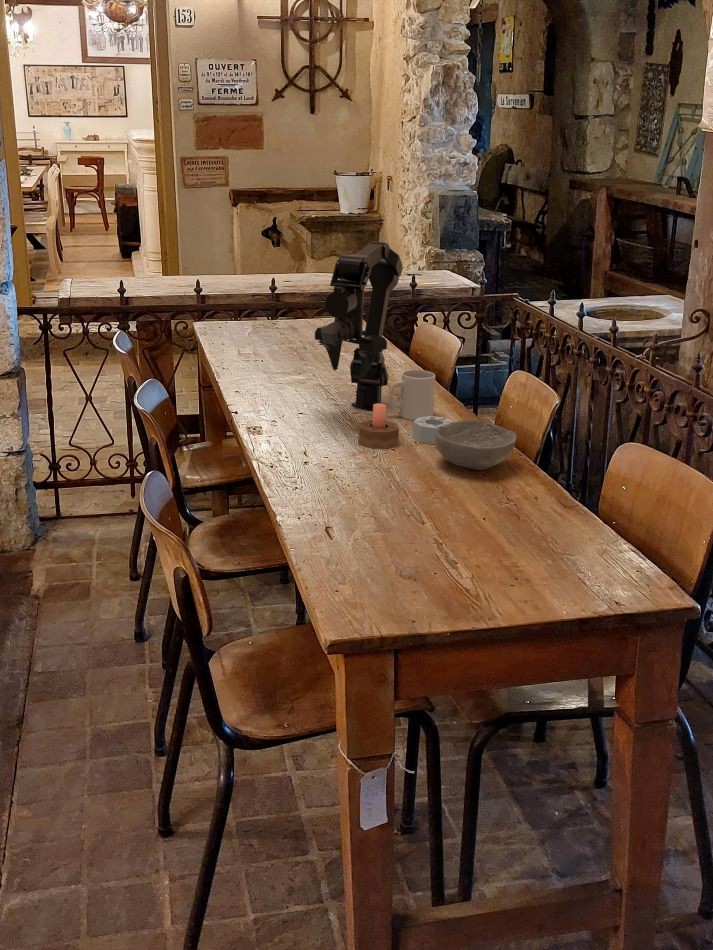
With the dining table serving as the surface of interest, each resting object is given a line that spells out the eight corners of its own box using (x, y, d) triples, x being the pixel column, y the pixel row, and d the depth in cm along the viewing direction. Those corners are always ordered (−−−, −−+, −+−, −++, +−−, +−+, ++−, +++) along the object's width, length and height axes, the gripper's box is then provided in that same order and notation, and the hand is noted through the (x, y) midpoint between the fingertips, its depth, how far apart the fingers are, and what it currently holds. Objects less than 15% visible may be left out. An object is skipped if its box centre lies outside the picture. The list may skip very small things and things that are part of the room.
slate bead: (419, 430, 250) (420, 414, 249) (456, 435, 248) (457, 419, 246) (409, 441, 242) (410, 424, 241) (446, 446, 240) (448, 429, 238)
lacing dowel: (377, 439, 243) (378, 402, 240) (387, 442, 241) (388, 405, 238) (368, 442, 241) (370, 405, 237) (378, 445, 239) (380, 407, 236)
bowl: (460, 484, 216) (463, 448, 214) (417, 458, 231) (420, 424, 228) (530, 473, 224) (533, 438, 222) (484, 449, 239) (487, 416, 236)
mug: (425, 410, 267) (428, 369, 263) (438, 419, 259) (441, 377, 256) (382, 412, 263) (384, 371, 260) (393, 422, 256) (395, 379, 252)
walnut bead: (375, 433, 247) (376, 417, 245) (405, 442, 241) (406, 426, 240) (351, 441, 240) (351, 425, 239) (380, 450, 235) (381, 434, 233)
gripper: (299, 307, 244) (298, 371, 250) (358, 320, 233) (356, 387, 238) (331, 302, 252) (329, 364, 258) (389, 314, 241) (386, 378, 246)
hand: (349, 373), depth 250 cm, fingers open, 9 cm apart
